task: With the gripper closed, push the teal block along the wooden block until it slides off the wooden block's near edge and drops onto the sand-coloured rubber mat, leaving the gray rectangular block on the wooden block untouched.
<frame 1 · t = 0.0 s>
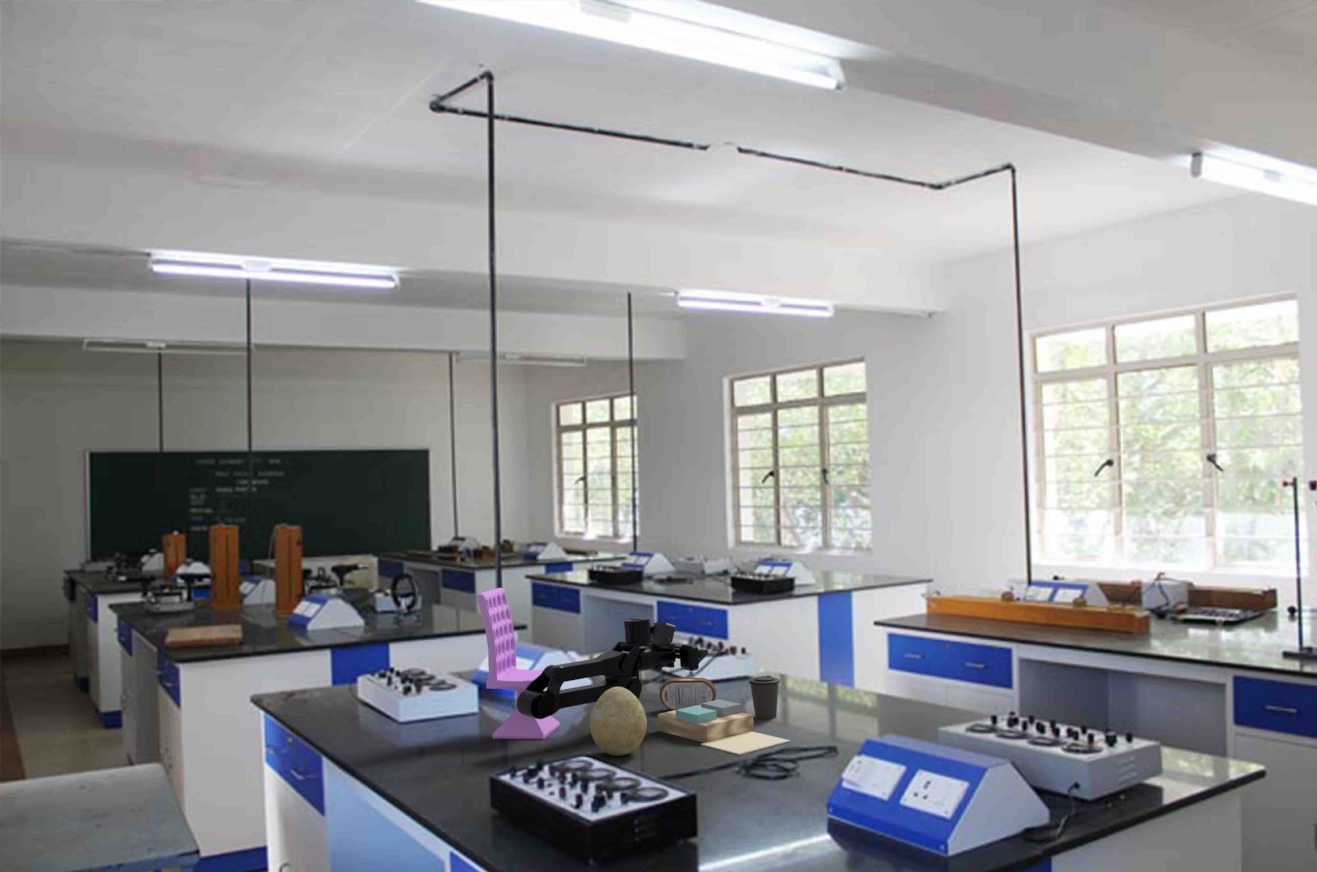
hand: (696, 650, 270), 17 cm above the table, tool horizontal, fingers open, 9 cm apart
wooden block: (705, 730, 251), on the table
mat: (745, 743, 238), on the table
tin: (688, 710, 275), on the table
teal block: (696, 718, 247), point 4 cm above the table, touching wooden block
gray rectangular block: (721, 711, 253), point 4 cm above the table, touching wooden block
fossilized egg: (619, 755, 232), on the table
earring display: (521, 732, 256), on the table
coffee cup: (765, 717, 264), on the table
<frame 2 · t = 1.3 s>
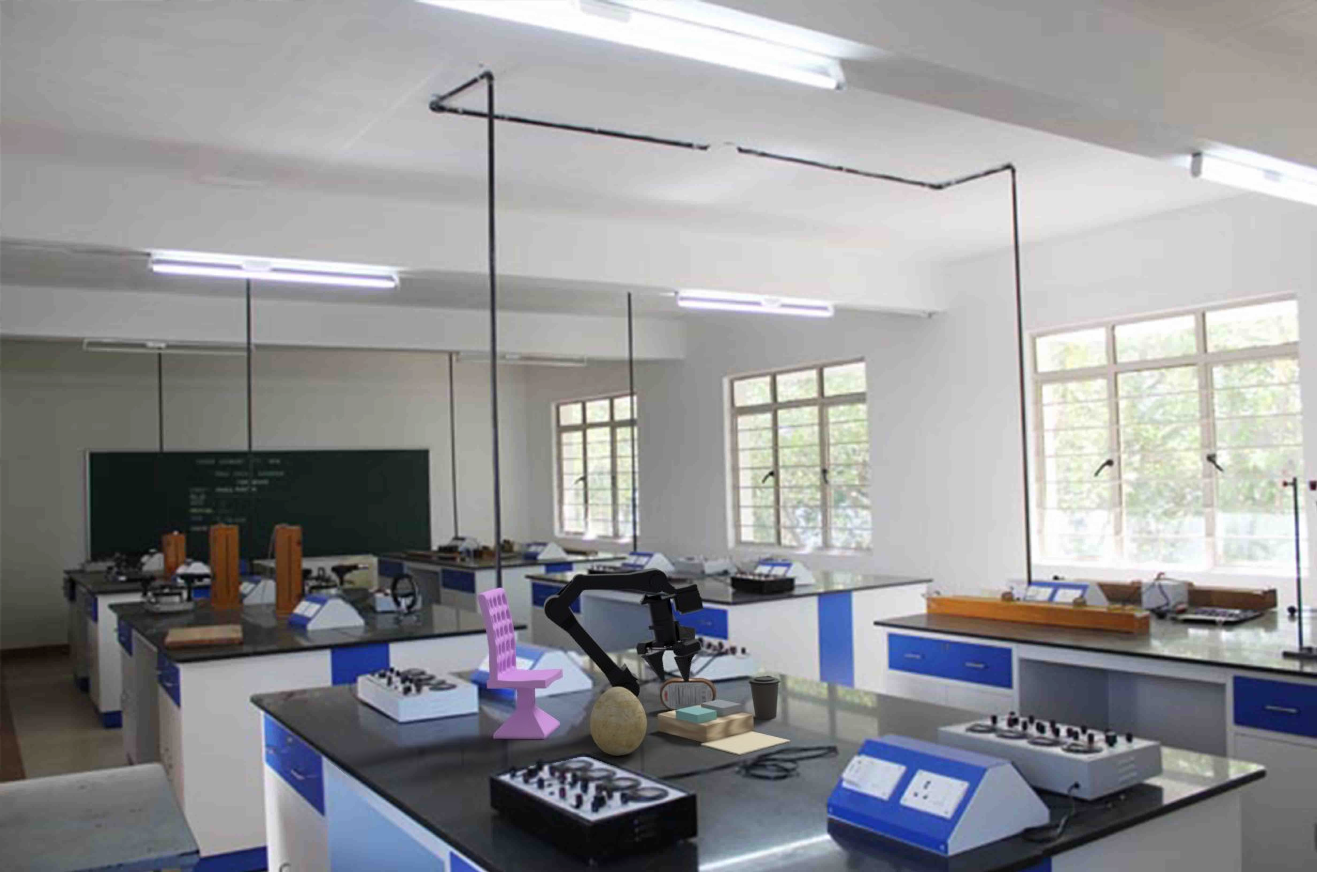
hand: (674, 681, 256), 11 cm above the table, tool pointing down, fingers open, 9 cm apart
nothing on the table moved.
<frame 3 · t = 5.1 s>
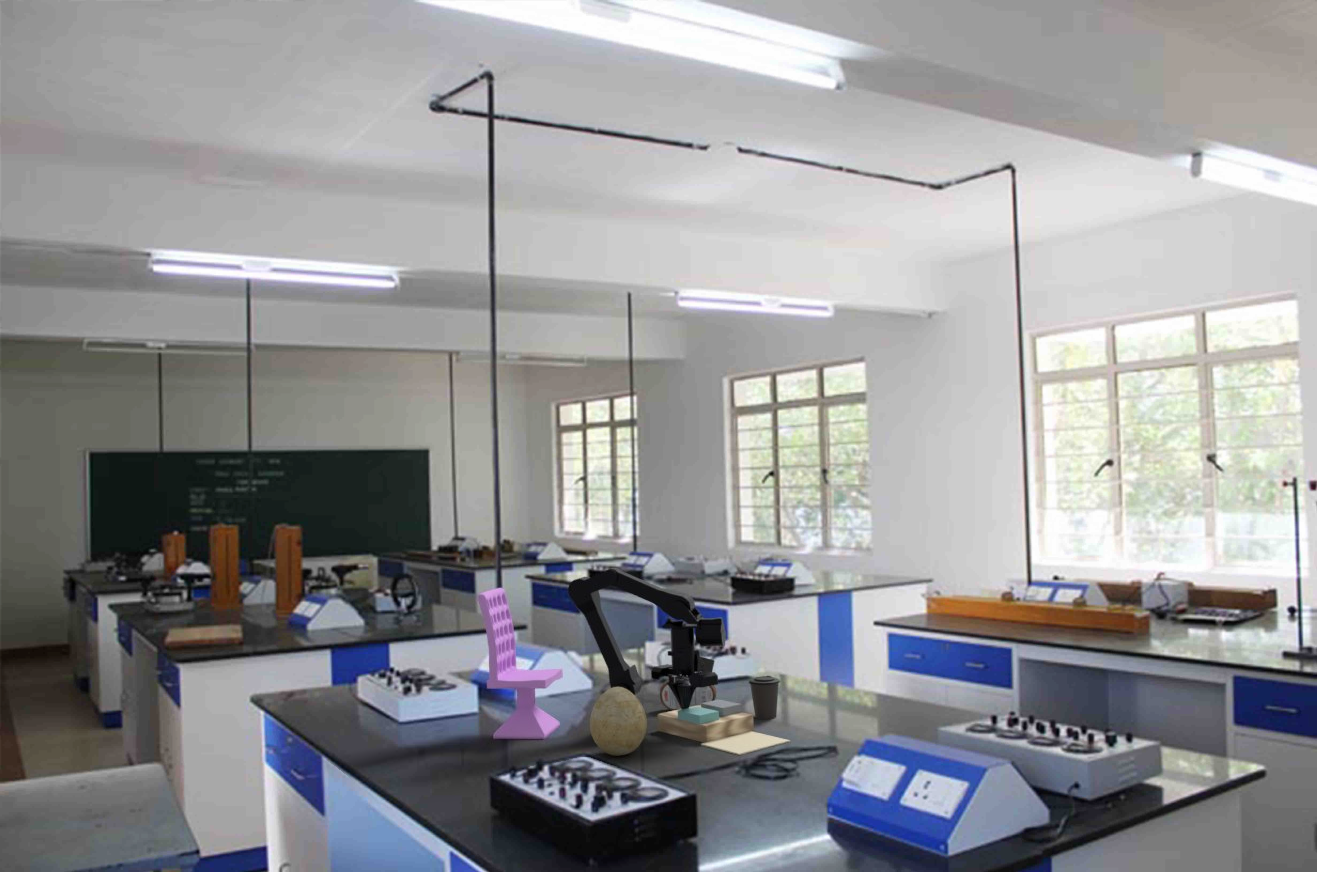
hand: (685, 711, 250), 5 cm above the table, tool pointing down, fingers closed
teal block: (698, 719, 246), point 4 cm above the table
everything else where it was.
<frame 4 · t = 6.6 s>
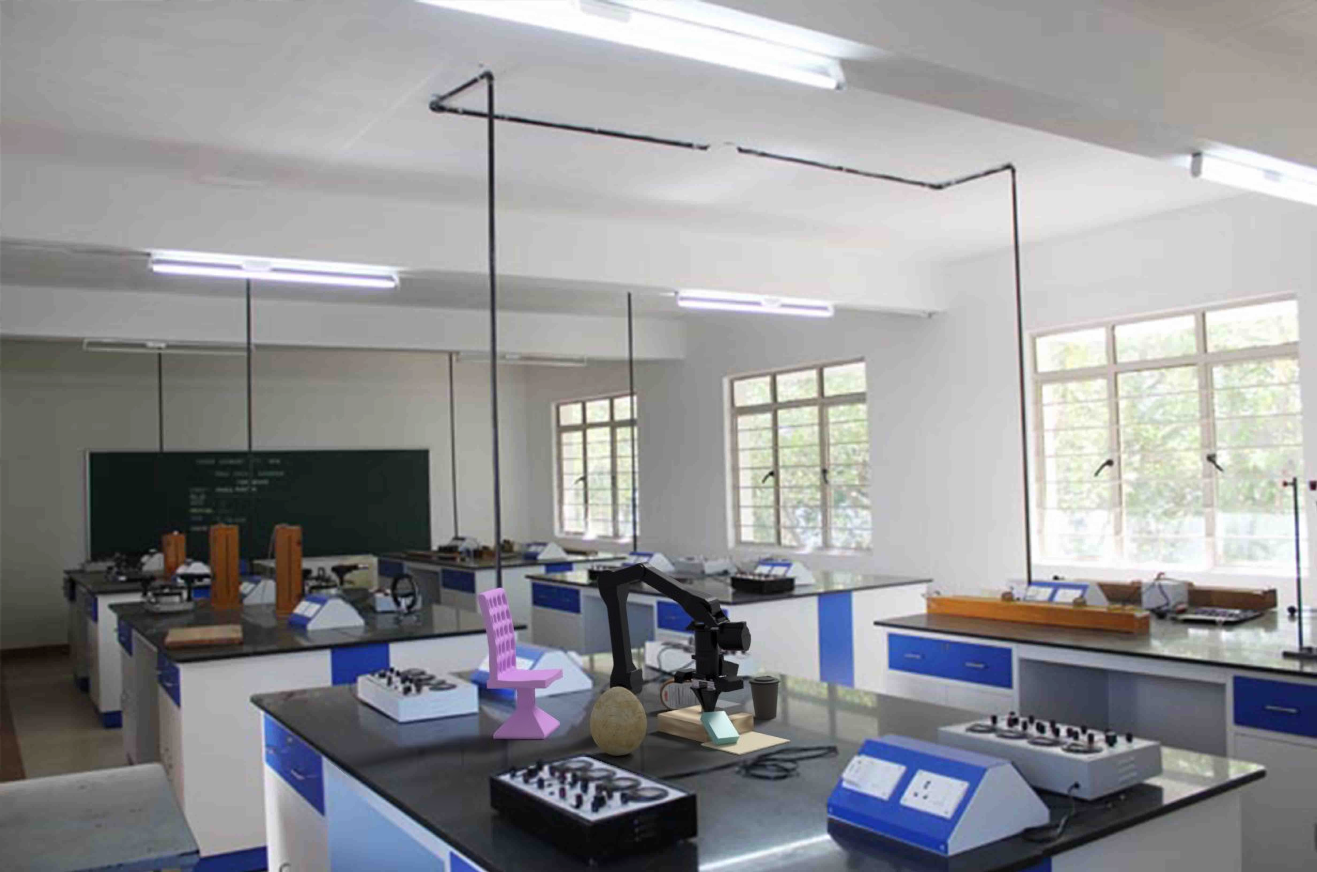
hand: (709, 716, 243), 5 cm above the table, tool pointing down, fingers closed
teal block: (718, 730, 239), point 3 cm above the table, tilted 35°, touching mat
everything else where it was.
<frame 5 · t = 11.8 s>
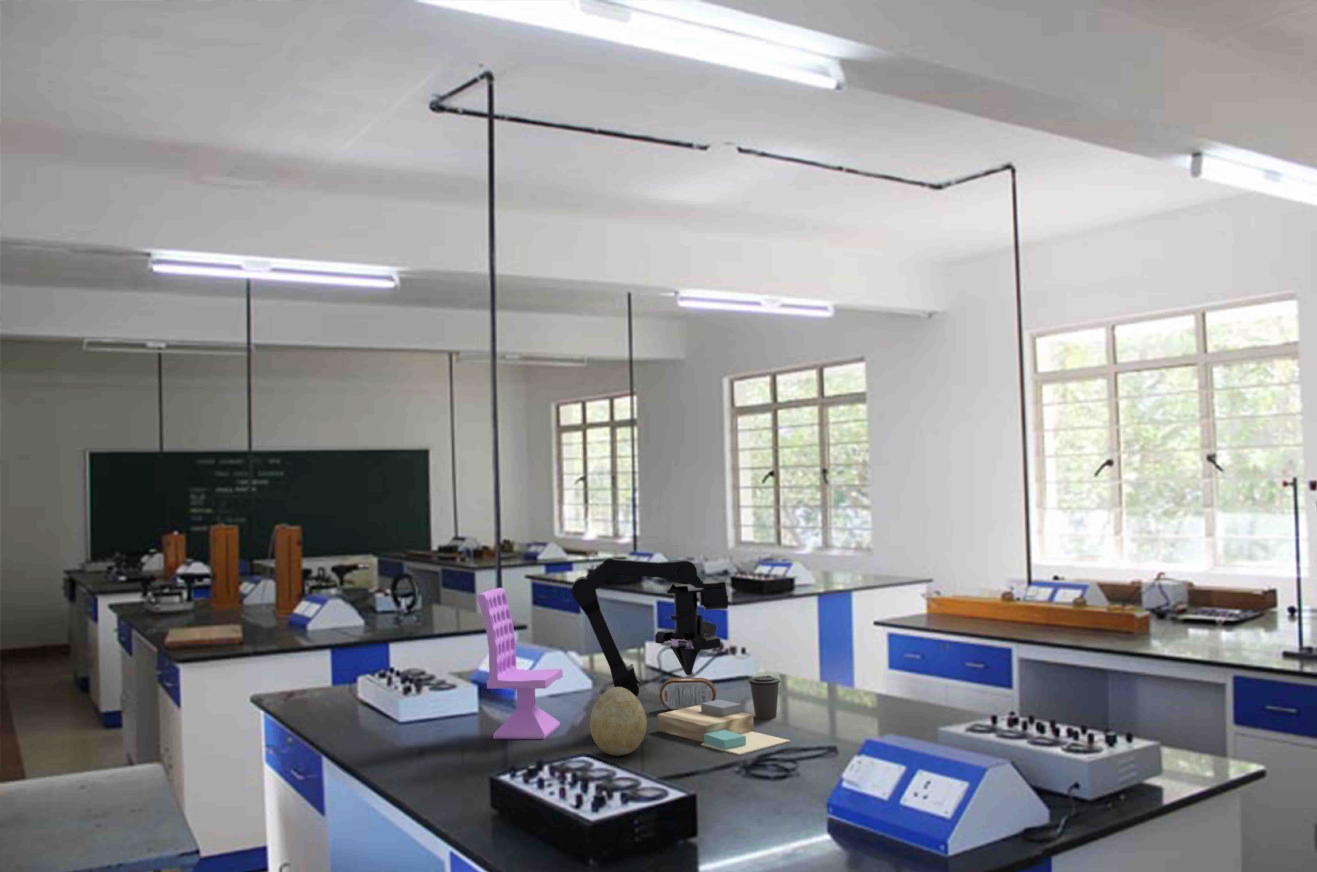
hand: (688, 674, 255), 13 cm above the table, tool pointing down, fingers closed
teal block: (724, 743, 237), resting on mat
everything else where it was.
at the end: teal block resting on mat; teal block inside the target area on the mat (4.9 cm from its centre), point 0.3 cm above the mat's base; gray rectangular block moved 0.0 cm from its start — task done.
